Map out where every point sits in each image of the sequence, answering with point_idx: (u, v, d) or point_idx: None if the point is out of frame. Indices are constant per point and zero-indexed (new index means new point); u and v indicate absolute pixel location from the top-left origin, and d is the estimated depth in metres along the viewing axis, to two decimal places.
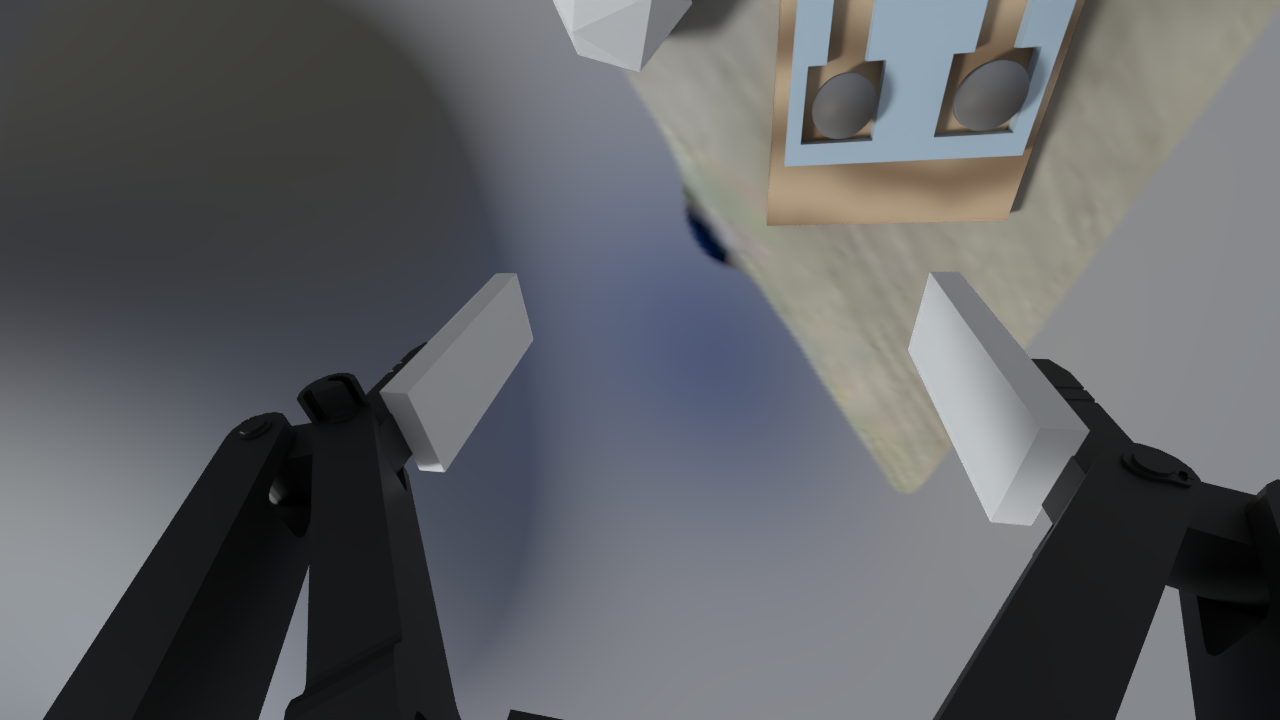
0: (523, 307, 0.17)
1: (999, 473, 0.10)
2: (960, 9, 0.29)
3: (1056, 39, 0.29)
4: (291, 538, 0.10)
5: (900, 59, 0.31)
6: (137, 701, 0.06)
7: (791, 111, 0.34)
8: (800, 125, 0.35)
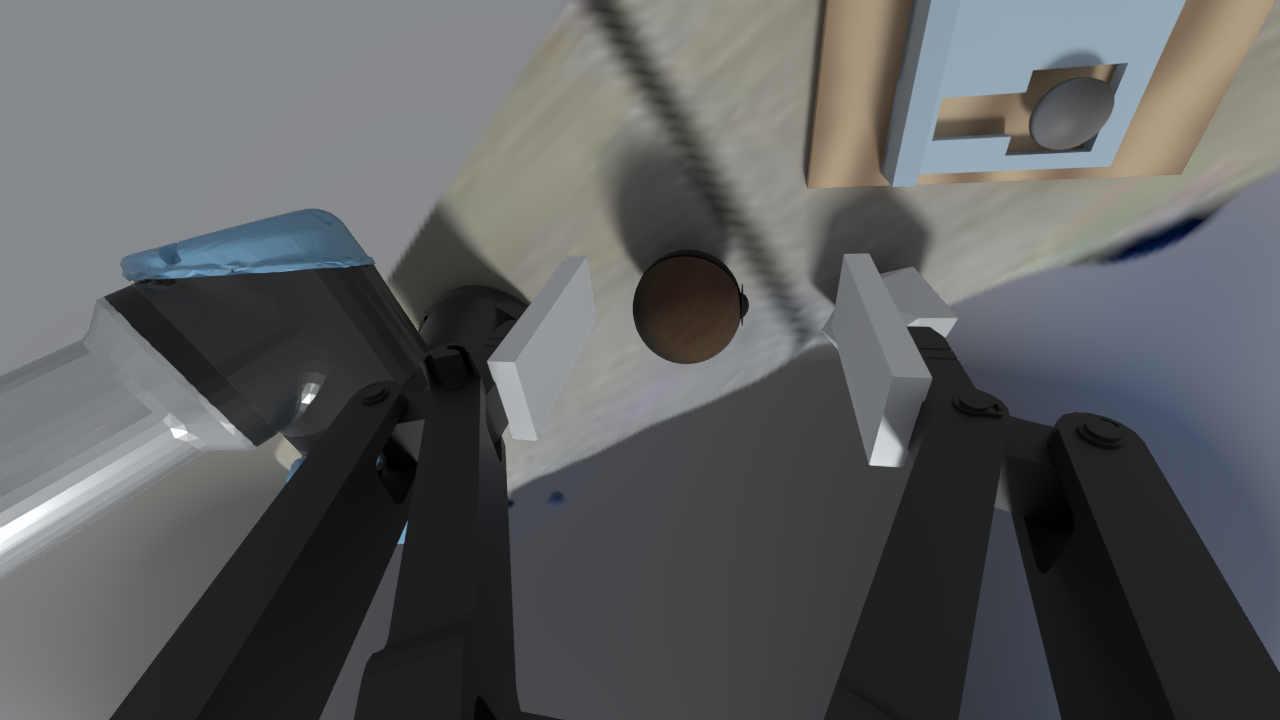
0: (590, 290, 0.18)
1: (873, 421, 0.11)
2: None
3: None
4: (390, 504, 0.11)
5: (1039, 54, 0.29)
6: (237, 648, 0.07)
7: (1046, 167, 0.32)
8: (1066, 154, 0.32)
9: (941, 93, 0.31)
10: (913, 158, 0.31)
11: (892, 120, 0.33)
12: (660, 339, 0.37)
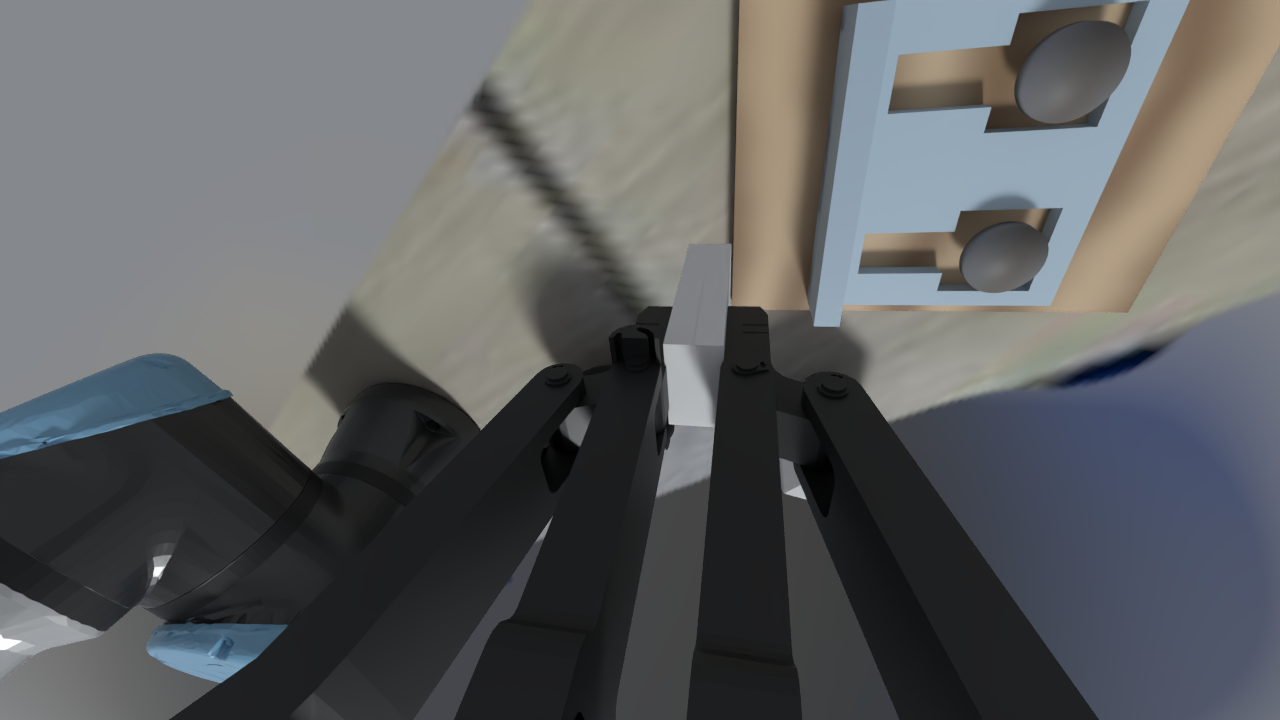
0: None
1: None
2: (932, 141, 0.25)
3: None
4: (545, 492, 0.10)
5: (966, 195, 0.26)
6: (381, 610, 0.07)
7: (981, 303, 0.29)
8: (1002, 292, 0.29)
9: (863, 229, 0.28)
10: (833, 300, 0.28)
11: (814, 251, 0.30)
12: None
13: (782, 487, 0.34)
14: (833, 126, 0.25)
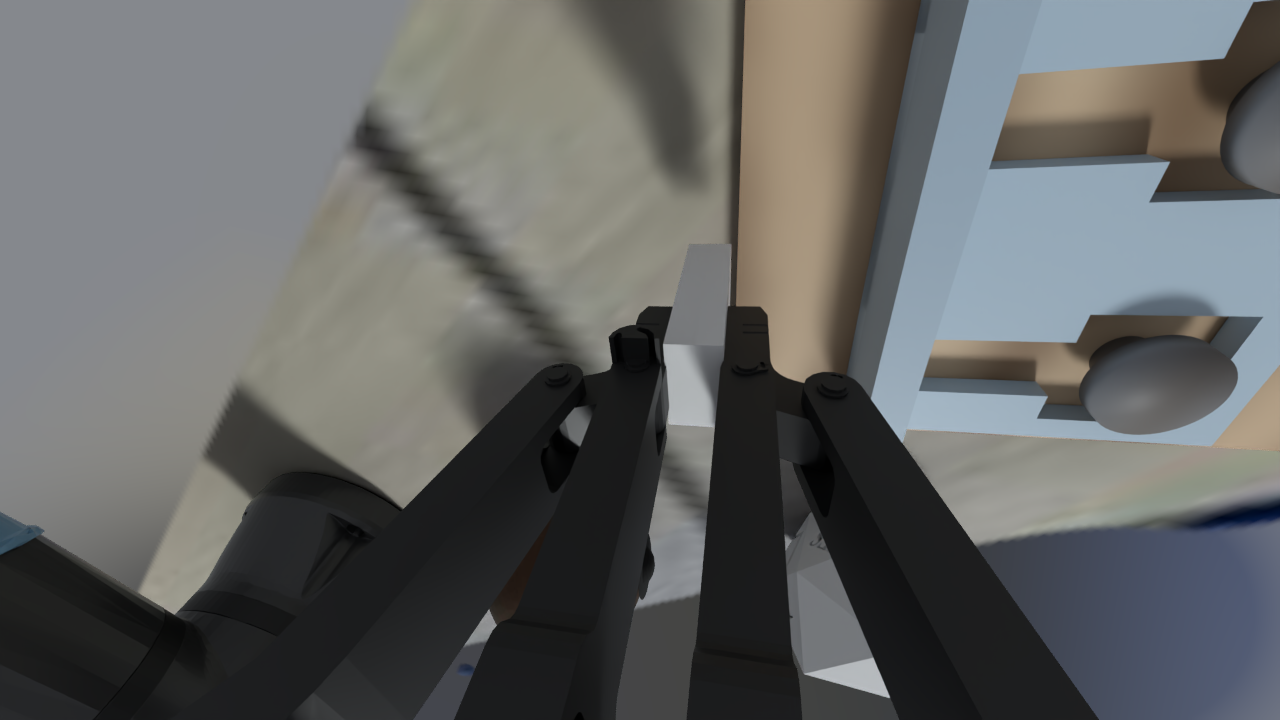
0: None
1: None
2: (1058, 212, 0.15)
3: None
4: (545, 492, 0.10)
5: (1103, 293, 0.17)
6: (381, 610, 0.07)
7: (1103, 437, 0.20)
8: None
9: None
10: None
11: (854, 357, 0.20)
12: None
13: (801, 664, 0.25)
14: (897, 188, 0.15)
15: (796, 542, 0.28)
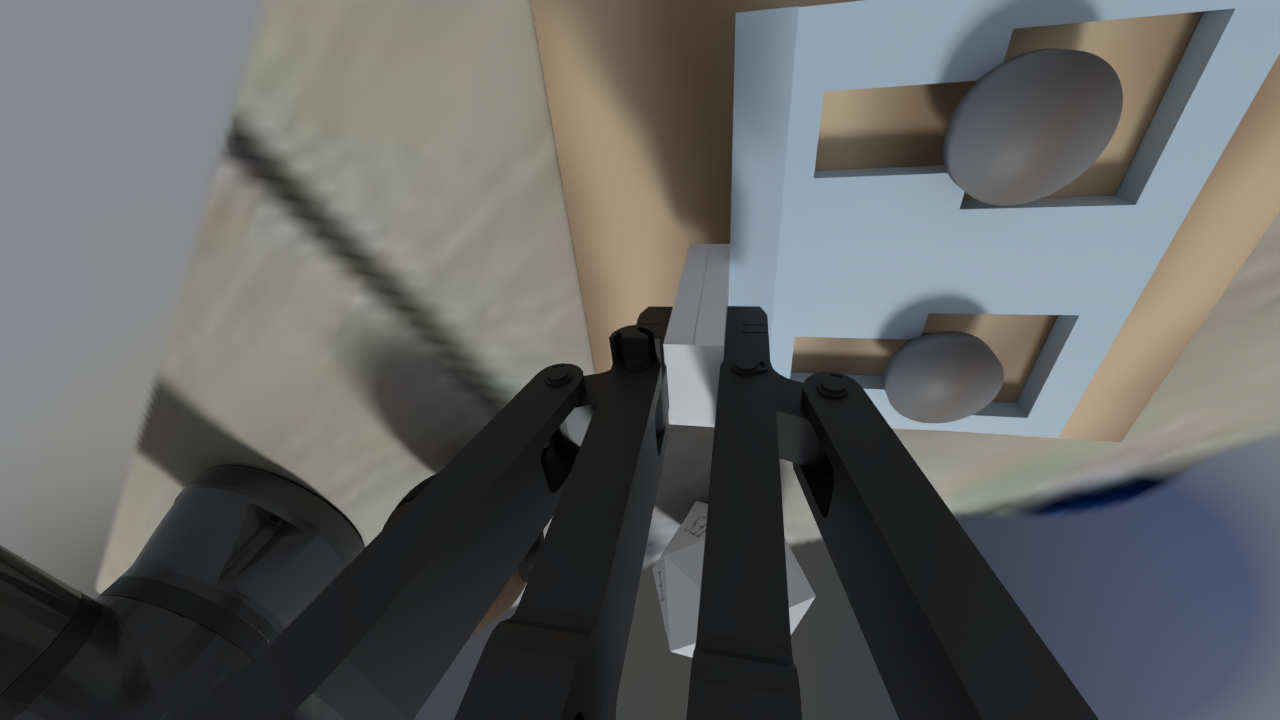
0: None
1: None
2: (882, 218, 0.17)
3: (1010, 0, 0.13)
4: (545, 492, 0.10)
5: (935, 293, 0.18)
6: (381, 610, 0.07)
7: (961, 429, 0.21)
8: (990, 418, 0.20)
9: (792, 330, 0.20)
10: None
11: None
12: None
13: (669, 642, 0.26)
14: None
15: (678, 529, 0.30)
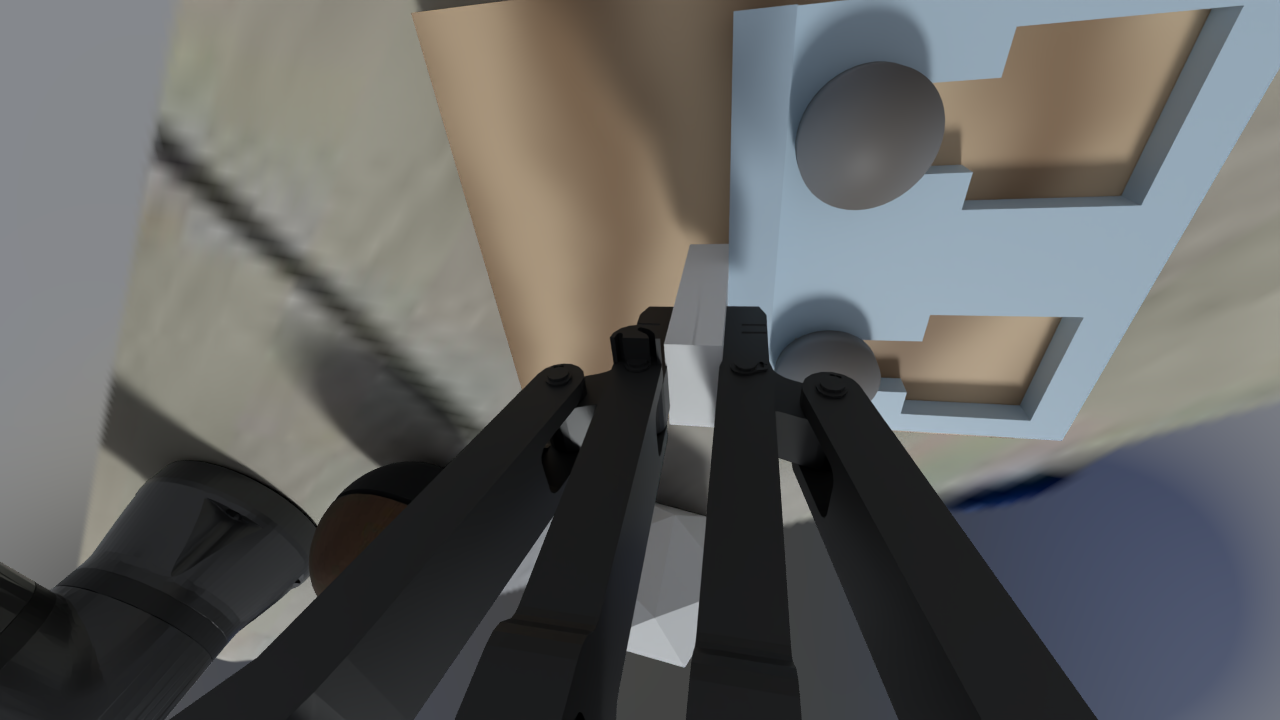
0: None
1: None
2: (883, 218, 0.16)
3: None
4: (546, 492, 0.10)
5: (937, 295, 0.18)
6: (382, 610, 0.07)
7: (964, 432, 0.21)
8: (993, 421, 0.20)
9: (792, 332, 0.20)
10: None
11: None
12: None
13: None
14: None
15: None
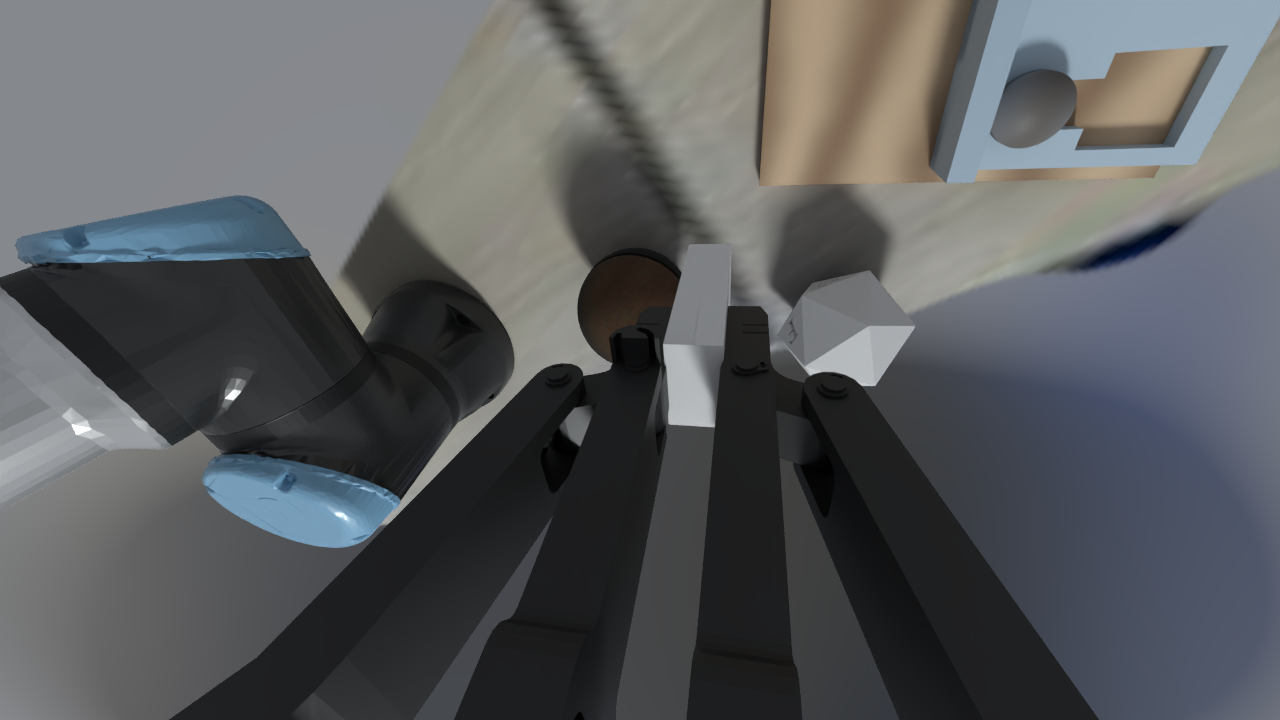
0: None
1: None
2: None
3: None
4: (545, 492, 0.10)
5: (1124, 34, 0.25)
6: (381, 610, 0.07)
7: (1121, 163, 0.29)
8: (1145, 150, 0.28)
9: (1006, 78, 0.28)
10: (973, 151, 0.28)
11: (948, 108, 0.29)
12: (601, 342, 0.36)
13: (803, 361, 0.35)
14: None
15: None
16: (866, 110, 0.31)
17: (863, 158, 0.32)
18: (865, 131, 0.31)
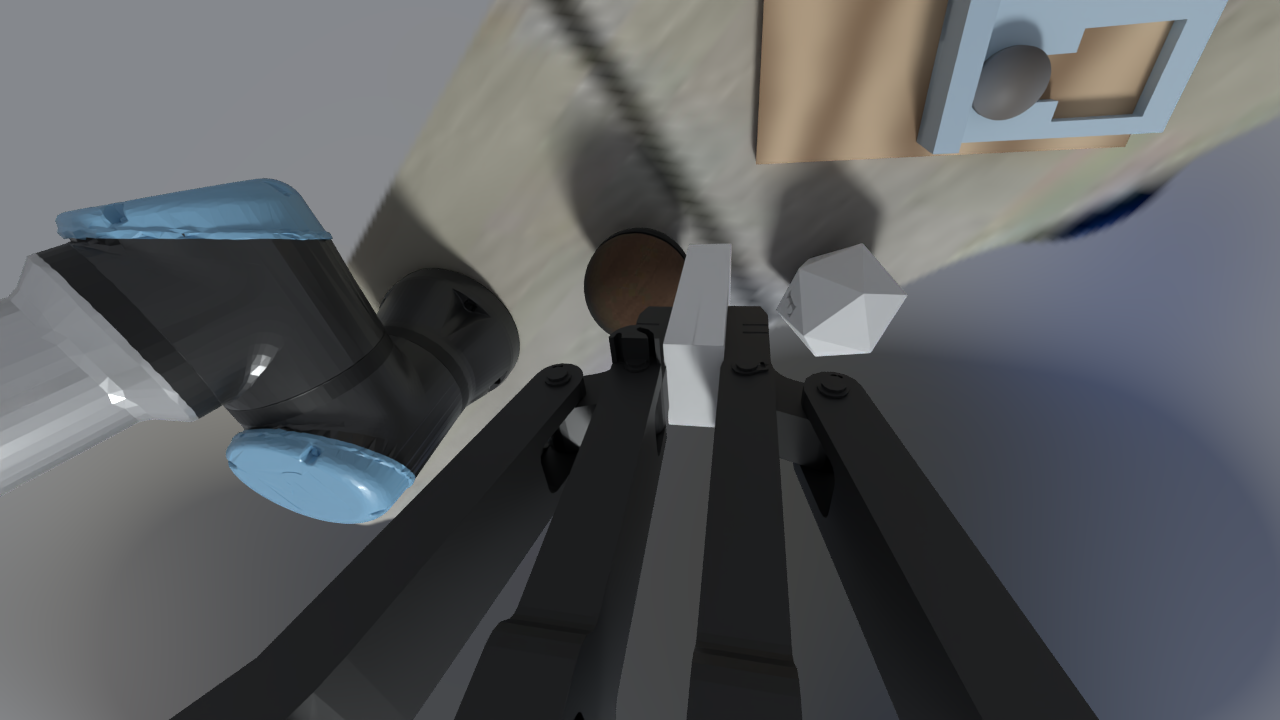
0: None
1: None
2: None
3: None
4: (545, 492, 0.10)
5: (1092, 10, 0.27)
6: (381, 610, 0.07)
7: (1094, 133, 0.31)
8: (1116, 120, 0.30)
9: (986, 54, 0.29)
10: (956, 123, 0.29)
11: (932, 85, 0.31)
12: (608, 316, 0.37)
13: (801, 331, 0.37)
14: None
15: None
16: (856, 89, 0.33)
17: (854, 135, 0.34)
18: (855, 109, 0.33)
